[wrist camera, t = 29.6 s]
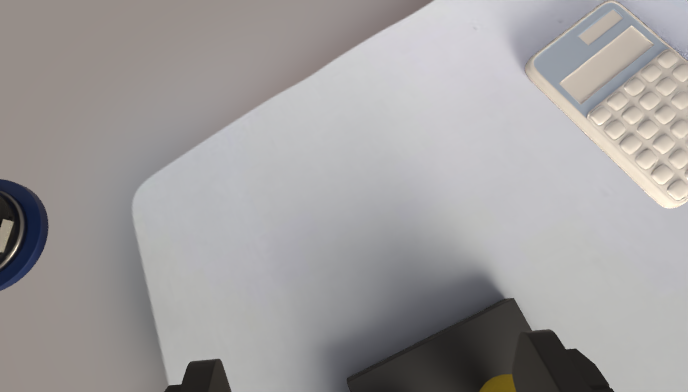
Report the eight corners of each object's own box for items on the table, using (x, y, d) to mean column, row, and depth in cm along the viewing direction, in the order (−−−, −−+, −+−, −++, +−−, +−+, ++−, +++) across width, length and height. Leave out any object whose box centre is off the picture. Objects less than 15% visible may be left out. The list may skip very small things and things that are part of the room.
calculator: (665, 215, 39) (681, 210, 37) (517, 70, 43) (524, 60, 42) (752, 134, 41) (771, 126, 40) (603, 4, 46) (613, -9, 44)
